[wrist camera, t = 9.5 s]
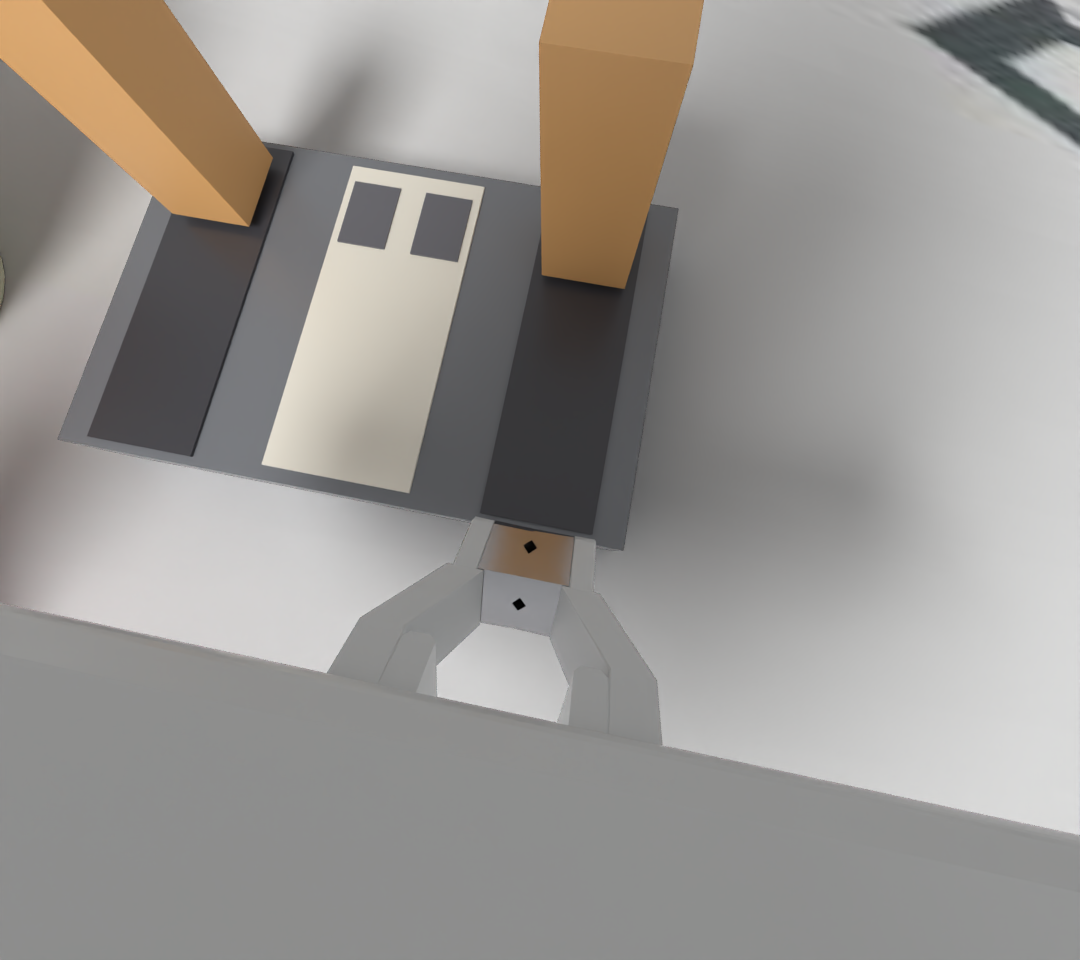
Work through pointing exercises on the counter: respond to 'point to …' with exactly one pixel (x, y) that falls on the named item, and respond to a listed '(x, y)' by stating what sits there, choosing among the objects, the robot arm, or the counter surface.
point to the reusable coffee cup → (1, 281)
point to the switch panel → (383, 349)
